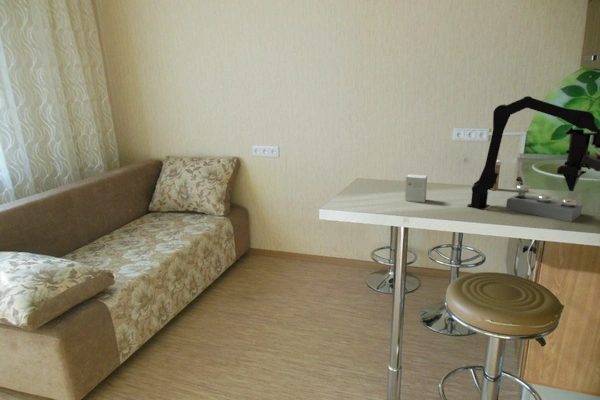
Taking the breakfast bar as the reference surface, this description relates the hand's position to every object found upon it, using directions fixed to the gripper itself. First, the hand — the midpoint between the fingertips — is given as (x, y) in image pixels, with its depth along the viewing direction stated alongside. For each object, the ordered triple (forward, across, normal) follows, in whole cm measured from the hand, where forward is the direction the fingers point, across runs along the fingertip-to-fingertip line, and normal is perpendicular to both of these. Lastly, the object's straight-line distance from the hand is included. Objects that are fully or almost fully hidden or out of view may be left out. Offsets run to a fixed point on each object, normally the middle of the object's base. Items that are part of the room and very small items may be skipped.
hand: (571, 190), depth 146 cm
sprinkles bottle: (+10, +22, +36) cm, 43 cm away
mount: (+10, 0, +8) cm, 13 cm away
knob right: (+8, 0, 0) cm, 8 cm away
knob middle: (+8, 0, +8) cm, 12 cm away
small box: (+10, -19, +51) cm, 55 cm away
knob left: (+6, 0, +16) cm, 17 cm away
